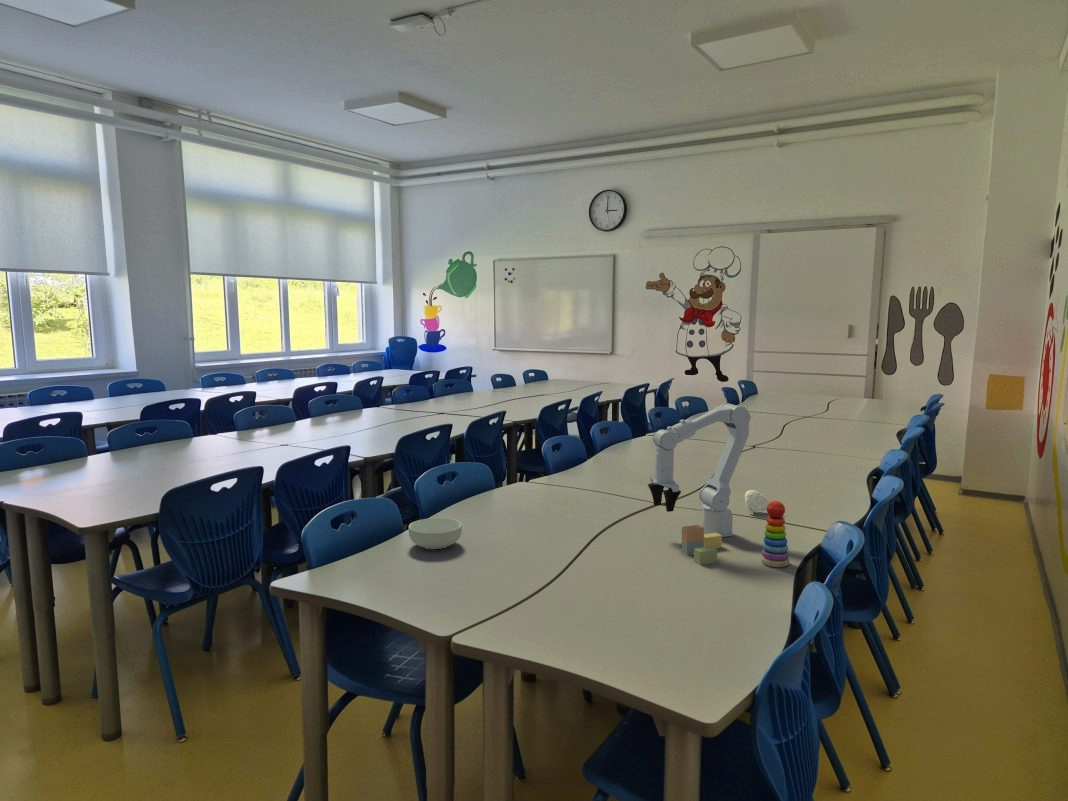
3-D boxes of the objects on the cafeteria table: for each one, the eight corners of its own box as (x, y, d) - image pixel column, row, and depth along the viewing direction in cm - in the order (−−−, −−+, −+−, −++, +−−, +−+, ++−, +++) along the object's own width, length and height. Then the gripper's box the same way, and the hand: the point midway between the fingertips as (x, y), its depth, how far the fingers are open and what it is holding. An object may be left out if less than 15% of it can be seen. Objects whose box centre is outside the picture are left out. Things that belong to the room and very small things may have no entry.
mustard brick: (715, 544, 212) (716, 532, 212) (721, 547, 209) (721, 535, 209) (699, 547, 210) (700, 534, 209) (705, 550, 207) (705, 537, 207)
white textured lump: (745, 487, 248) (779, 492, 245) (742, 509, 250) (775, 514, 247) (746, 491, 242) (780, 496, 239) (742, 514, 243) (777, 519, 241)
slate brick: (698, 549, 207) (698, 537, 207) (703, 552, 205) (704, 540, 204) (681, 552, 205) (681, 539, 205) (687, 555, 202) (687, 542, 202)
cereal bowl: (473, 545, 211) (472, 524, 210) (431, 559, 199) (431, 537, 198) (439, 534, 223) (438, 513, 222) (398, 546, 211) (397, 525, 210)
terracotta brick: (698, 537, 207) (698, 524, 206) (703, 540, 204) (704, 527, 204) (681, 539, 205) (681, 526, 204) (687, 542, 202) (687, 529, 202)
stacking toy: (788, 560, 198) (791, 499, 196) (789, 569, 191) (792, 506, 188) (760, 557, 201) (763, 496, 198) (760, 566, 193) (763, 503, 191)
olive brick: (710, 559, 200) (711, 546, 199) (716, 562, 197) (717, 549, 196) (693, 561, 197) (694, 548, 197) (699, 565, 195) (699, 551, 194)
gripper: (642, 463, 220) (641, 503, 221) (665, 473, 206) (664, 515, 208) (660, 461, 222) (660, 501, 224) (685, 471, 208) (684, 513, 210)
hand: (663, 508), depth 216 cm, fingers open, 7 cm apart
